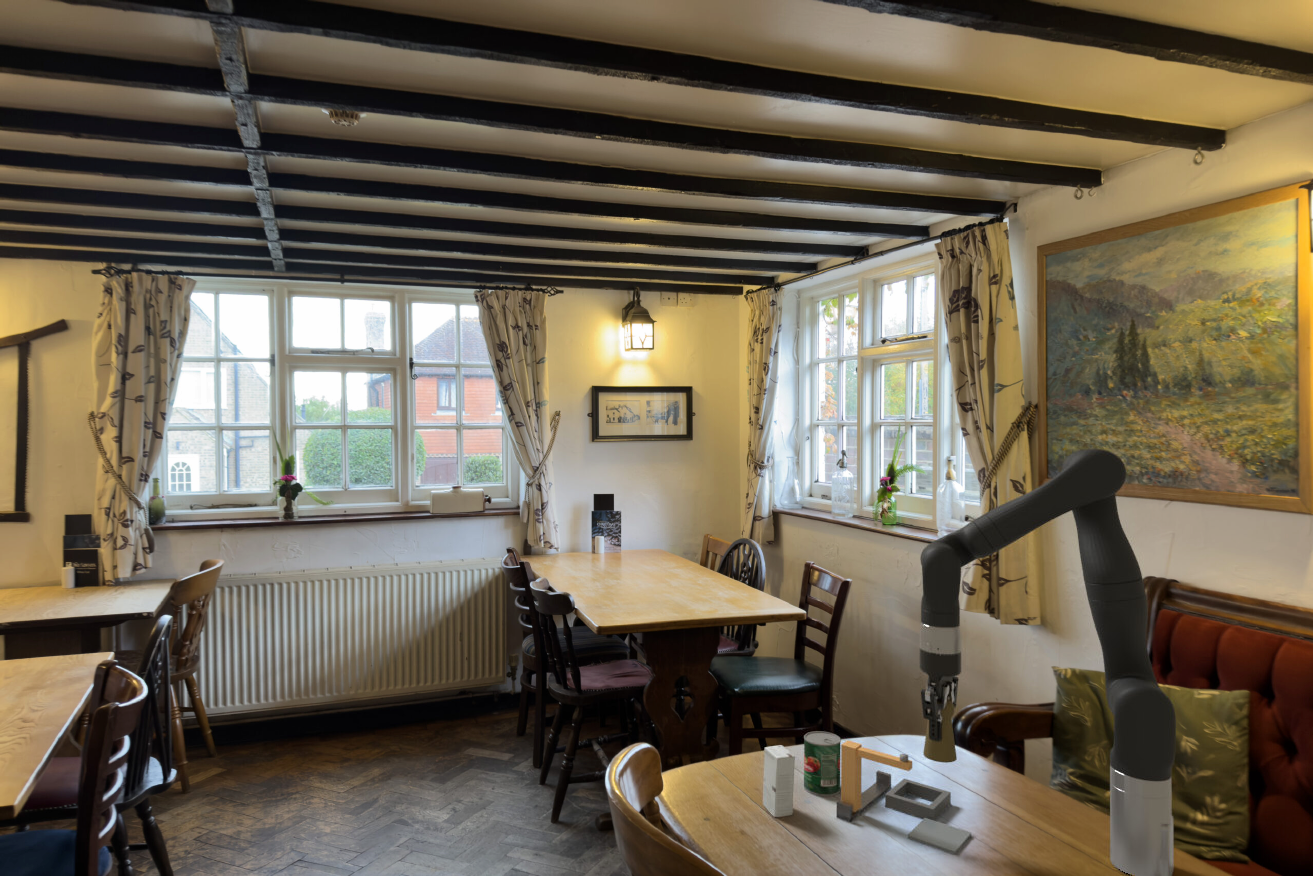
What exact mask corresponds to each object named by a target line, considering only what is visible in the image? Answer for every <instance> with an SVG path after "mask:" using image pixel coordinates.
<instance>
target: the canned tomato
mask: <svg viewBox="0 0 1313 876" xmlns="http://www.w3.org/2000/svg"><path fill="white" fill-rule="evenodd" d="M803 739H804V740H803V741H804V742H803V743H804V744H803V746H804V748H803V753H804V754H803V789H804V790H805V791H806V792H808V793H809V792H810V794H812V795H814V794H815V796H819V795H820V797H832V796H836V795H838V794H839V793H841V741H842V740H841V737H840V736H838V735H837V734H835V733H832V732H828V731H820V730H819V731H818V730H816V731H810V732H807V733H806V734H804V735H803Z"/></svg>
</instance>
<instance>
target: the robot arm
mask: <svg viewBox="0 0 1313 876" xmlns="http://www.w3.org/2000/svg"><path fill="white" fill-rule="evenodd" d="M1126 478H1127V468H1126V466H1125V464H1124V462H1123V460H1122V458H1120V457H1119V456H1118V455H1116V454H1115V453H1113V452H1111V451H1110V450H1105V449H1102V448H1084V449H1078V450H1076V451H1074V452H1072V453H1070V454H1069V455H1068V456H1067V457H1066V459H1064V462H1063V463H1062V466H1061V471H1060V472H1059V473H1058V474H1056V475H1055V476H1054V477H1053V478H1051V479H1050V480H1048V481H1047V482H1045V483H1043V484H1042V485H1040V486H1038V487H1037V488H1034V489H1033V490H1031V491H1029V492H1027V493H1025V494H1023V495H1021V496H1018V497H1016V498H1013V499H1011V500H1009V501H1007V502H1005V503H1003V504H1001V505H998V506H996V507H994V508H993V509H991V510H989V511H988V512H985V513H983V514H982V515H980V516H979V517H977V518H975V519H973V520H971V521H969V523H967V524H966V525H964V526H962V527H961V528H959V529H957V530H955V531H953V532H950V533H948V534H946V535H943V536H941V537H939V538H938V539H936V540H933V541H932V542H930V543H929V544H927V545H925V547H924V549H922V552H921V554H920V565H921V572H922V597H921V603H920V604H921V605H920V628H919V629H920V630H919V669H920V671H921V672H923V673H925V674H927V677H928V679H927V681H926V686H925V687H926V688H925V689H922V688H921V690H920V697H921V698H920V699H921V704H922V705H921V706H922V715H923V719H925V720H927V721H928V720H929V739H930V740H933V741H937V742H939V741H941V740H942V710H944V709H946V702H947V699H949V700H951V701H952V703H953V704H954V709H956V708H957V700H958V699H957V698H958V689H959V677H958V676H959V675H960V674H961V673H962V634H961V622H960V621H961V619H960V618H961V614H960V613H961V610H960V609H961V608H960V607H961V606H960V592H961V591H960V590H961V580H962V567H965V566H966V565H968V564H970V563H972V562H974V561H975V560H977V559H984V558H986V557H989V556H992V555H993V554H995V553H997V552H999V551H1001V550H1002V549H1004V548H1006V547H1008V546H1010V545H1011V544H1014V542H1016V541H1019V540H1020V539H1021V538H1023V537H1024V536H1026V535H1028V534H1030V533H1032V532H1033V531H1035V530H1037V529H1038V528H1040V527H1041V526H1043V525H1045V524H1047V523H1049V522H1050V521H1052V520H1054V519H1057V518H1059V517H1060V516H1062V515H1065V514H1067V513H1069V512H1072V515H1073V518H1074V522H1075V526H1076V531H1077V532H1076V533H1077V541H1078V543H1077V544H1078V551H1079V556H1080V562H1081V569H1082V575H1083V582H1084V587H1085V591H1086V596H1087V600H1088V606H1089V608H1090V613H1091V616H1092V620H1093V624H1094V628H1095V630H1096V635H1097V636H1098V640H1099V643H1100V644H1099V645H1100V648H1101V652H1102V659H1103V665H1104V666H1103V668H1104V669H1103V671H1104V680H1105V693H1106V694H1105V695H1106V701H1107V704H1108V708H1109V710H1110V712H1111V713H1112V715H1113V716H1114V717H1113V723H1114V724H1113V727H1114V728H1113V746H1112V748H1111V749H1110V753H1109V760H1110V761H1109V777H1110V778H1109V791H1110V793H1109V795H1110V796H1109V797H1110V798H1109V802H1110V803H1109V807H1110V809H1109V811H1110V813H1109V825H1110V826H1109V827H1110V828H1109V829H1110V830H1109V833H1110V834H1109V835H1110V836H1109V838H1110V839H1109V840H1110V841H1109V843H1110V844H1109V852H1110V853H1109V857H1110V859H1109V860H1110V862H1111V864H1112V865H1113V867H1115V868H1116V869H1118V870H1119V869H1120V870H1119V871H1120V872H1122V871H1123V872H1122V873H1124V872H1125V874H1126V873H1128V874H1132V875H1135V876H1173V873H1174V862H1175V861H1174V816H1173V814H1172V768H1173V765H1174V764H1175V758H1176V740H1177V739H1176V737H1177V735H1176V734H1177V732H1176V731H1177V719H1176V711H1175V707H1174V704H1173V702H1172V700H1171V699H1170V698H1169V697H1168V695H1167V694H1166V693H1165V692H1164V691H1163V690H1162V688H1160V686H1159V684H1158V681H1157V679H1156V676H1155V673H1154V670H1153V666H1152V662H1151V660H1150V656H1149V655H1150V654H1149V651H1148V644H1147V642H1148V641H1147V637H1148V636H1147V635H1148V633H1147V631H1148V618H1149V614H1148V612H1149V609H1148V599H1147V594H1146V590H1145V589H1146V588H1145V584H1144V579H1143V574H1142V571H1141V567H1140V565H1139V561H1138V559H1137V557H1136V554H1135V552H1134V550H1133V548H1132V545H1131V543H1130V542H1129V539H1128V537H1127V535H1126V533H1125V531H1124V528H1123V526H1122V523H1121V520H1120V515H1119V510H1118V505H1117V497H1116V496H1117V495H1116V493H1118V492H1119V491H1120V490H1121V488H1122V487H1123V486H1124V484H1125V482H1126ZM937 702H941V704H937ZM932 711H933V714H932ZM1128 874H1127V875H1128Z"/></svg>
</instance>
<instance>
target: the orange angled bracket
mask: <svg viewBox="0 0 1313 876" xmlns="http://www.w3.org/2000/svg"><path fill="white" fill-rule="evenodd" d="M840 747H841V749H840V752H841V753H840V759H841V760H840V801H841V802H844V803H847V804H850V805H853V812H856V811H857V810H859V809H860V808H861V794H862V759H865V760H869V761H872V762H876V763H879V764H882V765H886V766H890V767H893V768H897V769H899V770H903V771H907V772H910V771H911V770H913V760H910V759H909V755H908V754H906V753H900V754H899V756H896V755H892V754H889V753H886V752H885V753H884V752H881V751H878V750H874V749H870V748H867V747H863V746H862V744H861V743H859V742H855V741H852V740H846V741H845V742H843V743H842V744H840Z"/></svg>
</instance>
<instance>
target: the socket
mask: <svg viewBox="0 0 1313 876" xmlns="http://www.w3.org/2000/svg"><path fill="white" fill-rule="evenodd" d="M907 795H910V796H914V797H917V798H921V799H924V800H927V801H931V803H930V804H926V803H923V802H920V801H917V800H914V799H910V798H908V797H906V796H907ZM951 795H952V793H951V792H950V791H949V790H948V791H947V790H945V789H941V788H937V787H933V786H931V785H927V784H924V783H922V782H921V783H920V782H918V781H915V780H910V779H907V778H903V779H902V780H901V781H899V782H898V783H897V784H896V785H894V786H893V787H891V789H890V790H888V791H887V792H886V793H885V794H884V799H885V800H884V804H885V805H884V806H885V807H886V808H889V809H892V810H895V811H898V812H901V813H905V814H908V815H910V816H913V817H917V818H920V819H922V820H923V819H924V818H928V819H931V820H934V821H937V819H938V818H939V817H940V816H941V815H942V814H943V813H944V812H945V811H946V810H947V809H948V808H949V807H950V805H951V804H952V803H951V800H952V799H951V797H952V796H951Z"/></svg>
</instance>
